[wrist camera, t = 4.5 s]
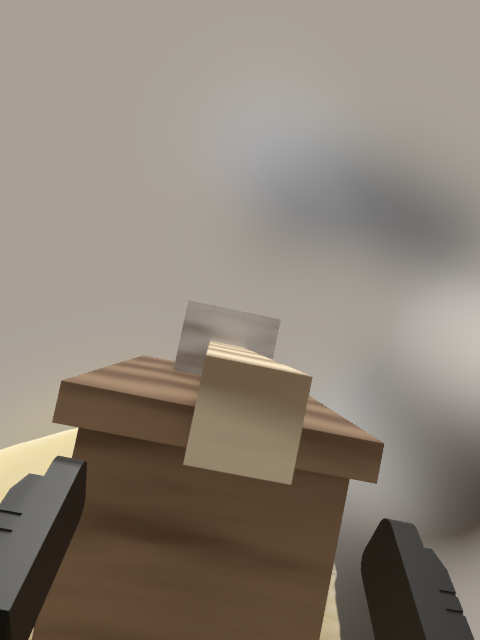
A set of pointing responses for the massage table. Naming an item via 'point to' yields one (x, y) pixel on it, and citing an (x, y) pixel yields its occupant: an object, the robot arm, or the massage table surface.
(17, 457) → the massage table surface
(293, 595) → the plinth
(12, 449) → the massage table surface
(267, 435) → the bar
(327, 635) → the massage table surface
